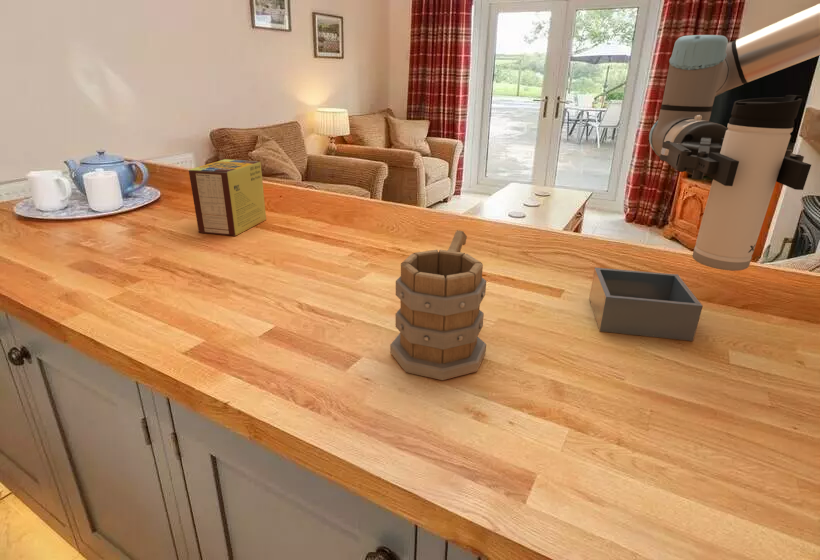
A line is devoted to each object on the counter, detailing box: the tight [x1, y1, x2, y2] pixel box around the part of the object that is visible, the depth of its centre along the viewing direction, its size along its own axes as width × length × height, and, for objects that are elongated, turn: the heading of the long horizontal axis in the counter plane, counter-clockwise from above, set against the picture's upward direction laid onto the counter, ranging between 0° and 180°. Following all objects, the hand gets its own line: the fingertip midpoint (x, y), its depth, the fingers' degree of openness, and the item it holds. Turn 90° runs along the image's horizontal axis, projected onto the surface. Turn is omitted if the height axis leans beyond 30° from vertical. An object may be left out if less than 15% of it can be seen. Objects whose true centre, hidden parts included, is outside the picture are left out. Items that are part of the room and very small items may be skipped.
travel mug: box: [691, 94, 805, 272], centre depth 58 cm, size 6×7×20 cm
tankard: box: [389, 229, 487, 381], centre depth 70 cm, size 20×13×15 cm, turn 160°
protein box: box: [188, 158, 267, 237], centre depth 123 cm, size 10×15×16 cm
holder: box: [588, 267, 703, 342], centre depth 80 cm, size 14×13×6 cm
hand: (767, 175), depth 53 cm, fingers closed on travel mug, 6 cm apart
